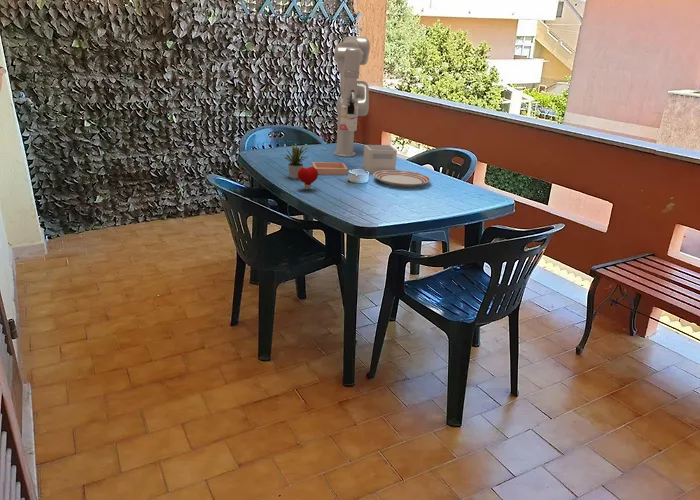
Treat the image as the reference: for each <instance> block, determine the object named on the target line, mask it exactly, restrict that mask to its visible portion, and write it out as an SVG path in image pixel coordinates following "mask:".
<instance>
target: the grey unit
mask: <svg viewBox="0 0 700 500" xmlns="http://www.w3.org/2000/svg"><path fill="white" fill-rule="evenodd" d="M397 154H398V150H397V149H396V148H394V147H393V146H392V145H391V144H390V145H389V144H364V145H363V159H362V169H363V170H364V171H365V170H366V171H368V172H369V173H370V175H373V174H374V173H375V172H377V171H383V170H396V166H397V165H396V164H397ZM366 171H365V172H366Z"/></svg>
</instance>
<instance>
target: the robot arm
mask: <svg viewBox="0 0 700 500" xmlns="http://www.w3.org/2000/svg"><path fill="white" fill-rule="evenodd" d="M370 44H371V43H370V40H369V38H368V37H366V36H356V35H355V36H354V35H350V36H346V37H345V38H344V39H343V40H342V42H340V43H337V44H336V45H335V47H334V52H333V53H334V54H333V55H334V56H333V57H334V60H335V62H336V65H337V68H338V70H339V75H340V76H339V77H340V79H339V80H340V82H339V85H340V86H339V89H340V90H339V91H340V92H339V94H340V96H341V97H339V99H338V100H337V102H336V109H337V130H336V133H337V134H336V149H335V150H333V155H335V156H337V157H345V158H346V157H349V158H350V157H352V158H353V157H355V156H356V154H357V153H356V152H355V151H354V143H355V131H348V130H340V116H341V106H342V100H343V99H348V102H347V103H349V105H348V112H347V113H348V114H354V105H355V104H354V100H358V117H359V116H360V117H365V116H367V115H368V113H369V111H370V110H369V105H370V100H369V99H370V90H369V89H370V88H369V84H368V82H367V81H363V80H358V79H359V78H360V66H365V65H367V64H368V61H369V53H370V48H371V47H370Z"/></svg>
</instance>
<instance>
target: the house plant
mask: <svg viewBox="0 0 700 500" xmlns="http://www.w3.org/2000/svg"><path fill="white" fill-rule="evenodd" d="M294 143H295V144H291V153H292V154H291V153H290V151H289V150H288V149H287V148H286V147H285V146H281V147H282V148H284V149H285V150H286V152H287V153H288V154H289V155H288V154H286V153H285V156H286V157H283V158H284V159H286V160H287V161H288V162H289V163H288V164H287V166H288V173H289V178H291V179H294V180H295V179H297V180H299V178H298V171H299V170H300V169H301V168H303V167H304V164H303V163H302V162H304V161H305V159H306V158H309V155H307V156H304V154H306V152H308V151H311V150H307V149H309V148H310V146H307V147H305V144H303V145H302V146H301V147H298V145H297V143H296V142H294ZM304 147H305V148H304Z"/></svg>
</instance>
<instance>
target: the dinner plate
mask: <svg viewBox="0 0 700 500" xmlns="http://www.w3.org/2000/svg"><path fill="white" fill-rule="evenodd" d="M372 175H373V177H374V179H376V180H378V181H379V182H382V183H384V184H385V183H386V185H388V186H392V185H393V186H392V187H397V186H401V187H400V188H412V187H411V186H416V187H419V186H421V185H422V186H423V185H426V184H427V183H429V182H430V181H431V178H430V177H429V176H428V175H425V174H422V173H419V172H415V171H414V172H413V171H410V170H409V171H408V170H400V169H399V170H397V169H395V170H383V171H377V172H375V173H374V174H372Z"/></svg>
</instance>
